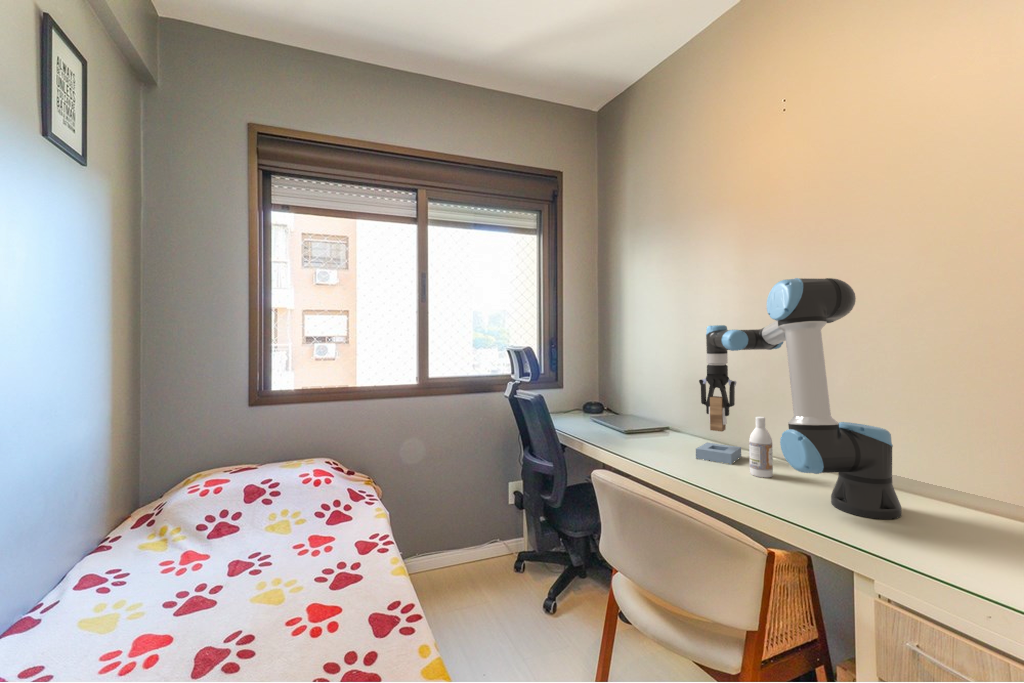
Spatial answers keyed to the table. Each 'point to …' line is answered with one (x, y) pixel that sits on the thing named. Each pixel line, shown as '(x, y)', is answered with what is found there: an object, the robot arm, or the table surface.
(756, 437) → the bath foam
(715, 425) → the peg
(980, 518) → the table surface
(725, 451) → the socket block
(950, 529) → the table surface
